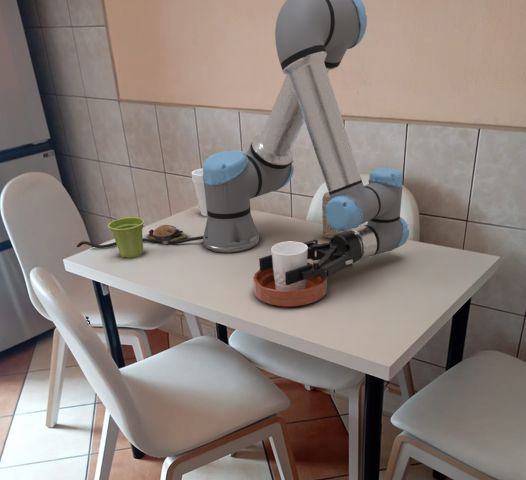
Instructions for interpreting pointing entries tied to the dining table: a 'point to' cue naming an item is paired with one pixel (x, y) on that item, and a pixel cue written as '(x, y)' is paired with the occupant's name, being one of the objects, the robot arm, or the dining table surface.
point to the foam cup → (200, 189)
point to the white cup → (288, 263)
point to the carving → (327, 229)
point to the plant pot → (128, 236)
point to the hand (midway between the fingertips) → (273, 271)
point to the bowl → (270, 295)
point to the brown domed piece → (166, 233)
